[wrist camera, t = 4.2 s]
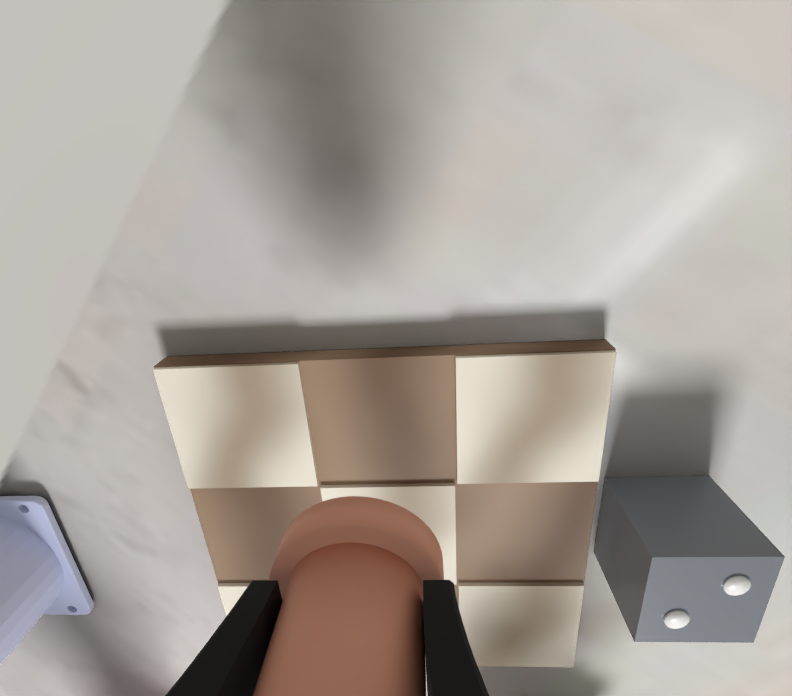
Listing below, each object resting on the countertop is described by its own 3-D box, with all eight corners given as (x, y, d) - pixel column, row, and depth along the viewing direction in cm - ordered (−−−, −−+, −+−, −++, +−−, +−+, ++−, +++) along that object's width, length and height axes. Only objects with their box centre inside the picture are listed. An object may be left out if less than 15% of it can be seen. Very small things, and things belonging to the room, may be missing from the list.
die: (593, 550, 22) (635, 644, 17) (604, 476, 20) (653, 559, 16) (688, 549, 21) (755, 645, 17) (707, 474, 20) (786, 558, 15)
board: (247, 642, 25) (239, 664, 24) (167, 356, 19) (151, 368, 18) (567, 644, 24) (574, 668, 23) (605, 339, 17) (617, 350, 16)
